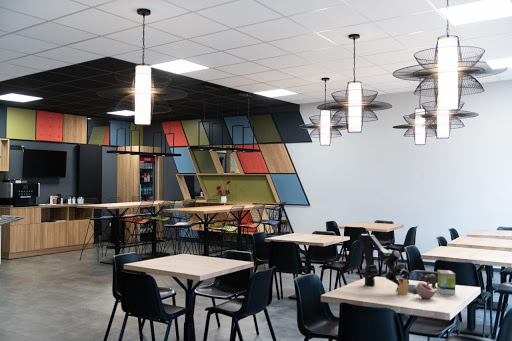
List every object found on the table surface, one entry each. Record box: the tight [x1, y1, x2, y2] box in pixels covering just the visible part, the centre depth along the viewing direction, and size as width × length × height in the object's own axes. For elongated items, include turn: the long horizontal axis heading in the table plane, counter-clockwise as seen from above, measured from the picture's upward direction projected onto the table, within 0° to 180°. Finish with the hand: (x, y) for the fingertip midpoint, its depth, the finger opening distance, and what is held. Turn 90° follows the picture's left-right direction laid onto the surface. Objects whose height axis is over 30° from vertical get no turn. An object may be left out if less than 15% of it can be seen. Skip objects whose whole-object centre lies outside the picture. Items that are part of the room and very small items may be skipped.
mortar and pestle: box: [416, 281, 436, 300], centre depth 319 cm, size 12×12×11 cm
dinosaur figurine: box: [418, 272, 437, 290], centre depth 355 cm, size 22×8×11 cm, turn 123°
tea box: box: [436, 269, 456, 296], centre depth 339 cm, size 15×10×15 cm, turn 168°
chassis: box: [396, 283, 418, 294], centre depth 344 cm, size 16×15×4 cm
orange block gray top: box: [397, 277, 409, 296], centre depth 333 cm, size 5×4×11 cm
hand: (403, 284), depth 332 cm, fingers open, 9 cm apart
